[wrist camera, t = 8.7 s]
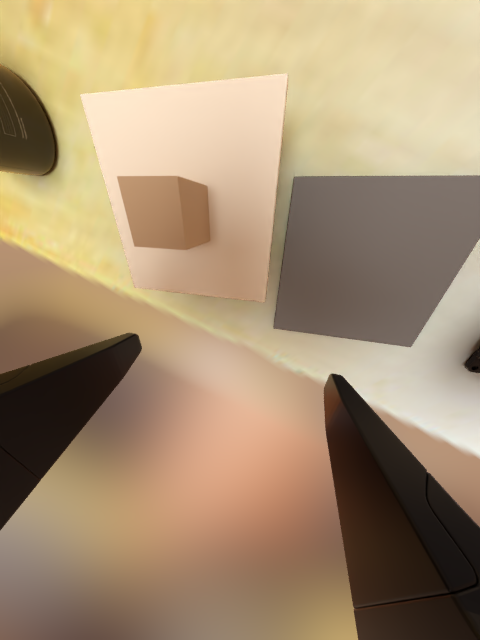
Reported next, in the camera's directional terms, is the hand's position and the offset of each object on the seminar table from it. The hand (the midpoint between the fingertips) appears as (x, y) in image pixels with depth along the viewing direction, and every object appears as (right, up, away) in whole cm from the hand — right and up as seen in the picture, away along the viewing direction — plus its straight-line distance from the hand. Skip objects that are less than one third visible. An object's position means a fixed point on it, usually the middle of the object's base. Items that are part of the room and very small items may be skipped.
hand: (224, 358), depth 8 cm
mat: (+11, +6, +7) cm, 14 cm away
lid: (-2, +9, +4) cm, 10 cm away
